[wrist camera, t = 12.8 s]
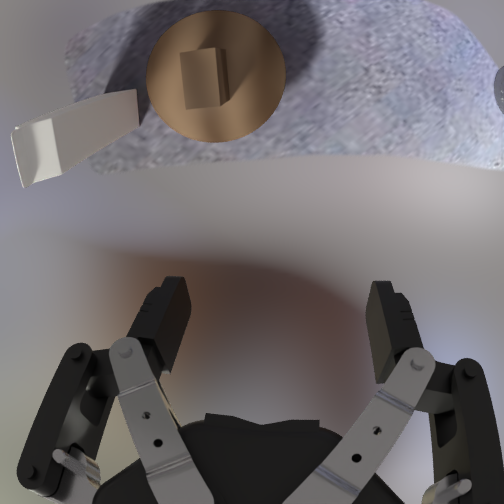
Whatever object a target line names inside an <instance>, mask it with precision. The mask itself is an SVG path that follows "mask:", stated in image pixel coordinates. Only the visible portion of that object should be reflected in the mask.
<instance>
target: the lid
mask: <svg viewBox="0 0 504 504" xmlns="http://www.w3.org/2000/svg"><path fill="white" fill-rule="evenodd" d="M285 81H286V68H285V62H284V58H283V54H282V52H281V50H280V47H279V45H278V44H277V42H276V41H275V39H274V38H273V36H272V35H271V34H270V33H269V32H268V31H267V30H266V29H265V28H264V27H263V26H262V25H261V24H259V23H258V22H256V21H255V20H253V19H251V18H249V17H247V16H245V15H242V14H239V13H236V12H231V11H224V10H212V11H204V12H199V13H196V14H193V15H190V16H188V17H186V18H184V19H182V20H180V21H178V22H177V23H175V24H174V25H172V26H171V27H170V28H169V29H168V30H167V31H166V32H165V33H164V34H163V35H162V36H161V37H160V39H159V40H158V41H157V43H156V44H155V46H154V48H153V50H152V52H151V55H150V57H149V60H148V65H147V70H146V86H147V91H148V95H149V98H150V101H151V103H152V105H153V107H154V109H155V111H156V112H157V114H158V115H159V117H160V118H161V119H162V120H163V121H164V122H165V123H166V124H167V125H168V126H169V127H170V128H172V129H173V130H175V131H176V132H178V133H179V134H181V135H183V136H185V137H188V138H191V139H193V140H197V141H202V142H227V141H231V140H235V139H238V138H241V137H244V136H246V135H248V134H250V133H252V132H253V131H255V130H256V129H258V128H259V127H260V126H261V125H263V124H264V123H265V122H266V121H267V120H268V119H269V117H270V116H271V115H272V114H273V112H274V111H275V109H276V108H277V106H278V104H279V102H280V100H281V98H282V95H283V91H284V87H285Z"/></svg>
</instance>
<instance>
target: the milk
mask: <svg viewBox="0 0 504 504" xmlns="http://www.w3.org/2000/svg"><path fill="white" fill-rule="evenodd" d="M138 127H140V125H139V115H138V103H137V90H136V89H131V90H124V91H118V92H111V93H105V94H101V95H98V96H95V97H91V98H88V99H85V100H82V101H79V102H76V103H73V104H71V105H68V106H65V107H62V108H60V109H57V110H54V111H52V112H49V113H47V114H44V115H42V116H39V117H37V118H34V119H32V120H30V121H28V122H25V123H23V124H21V125H18V126H16V127H15V130H14V131H12V133H11V139H12V144H13V149H14V154H15V158H16V163H17V167H18V171H19V175H20V179H21V183H22V186H23V188H27V187H28V186H30V185H31V184H32V183H35V182H38V181H41V180H45V179H48V178H51V177H55V176H59V175H62V174H63V173H65V172H66V171H68V170H69V169H70V168H72V167H74V166H75V165H77V164H78V163H80V162H81V161H83V160H84V159H86V158H87V157H89V156H90V155H92V154H94V153H95V152H97V151H98V150H100V149H102V148H103V147H105V146H107V145H108V144H110V143H112V142H113V141H115V140H117V139H119V138H120V137H122V136H124V135H126V134H127V133H129V132H131V131H133V130H135V129H136V128H138Z"/></svg>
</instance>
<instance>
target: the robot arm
mask: <svg viewBox="0 0 504 504" xmlns="http://www.w3.org/2000/svg"><path fill="white" fill-rule="evenodd" d="M494 92H495V98H496V101H497V104H498V106H499V108H500V110H501V111H502V113H503V114H504V66H503V67H502V68H501V69H500V70H499V71H498V73H497V75H496V78H495V83H494ZM190 315H191V300H190V296H189V293H188V289H187V285H186V281H185V278H184V277H179V276H177V277H176V276H167V277H166V278H165V279H164V281H163V283H162V285H161V287H155V288H154V289H153V290H152V291H151V292H150V293H149V294H148V295H147V296H146V298H145V300H144V302H143V305H142V306H141V308H140V312H138V314H137V316H136V318H135V320H134V322H133V324H132V326H131V328H130V330H129V332H128V334H127V336H126V337H124V338H121V339H119V340H117V341H116V342H114V343H113V345H112V346H111V347H110V349H103V350H96V351H92V349H91V348H90V346H89V345H88V344H86V343H77V344H74V345H72V346H71V347H69V348H68V349H67V351H66V352H65V354H64V356H63V358H62V360H61V362H60V364H59V366H58V369H57V370H56V373H55V375H54V377H53V379H52V381H51V383H50V385H49V388H48V390H47V392H46V394H45V396H44V399H43V401H42V404H41V406H40V408H39V410H38V413H37V415H36V418H35V420H34V423H33V425H32V428H31V430H30V433H29V435H28V438H27V440H26V443H25V446H24V449H23V452H22V454H21V457H20V460H19V463H18V466H17V477H18V480H19V482H20V483H21V485H22V486H23V487H25V488H27V489H28V490H31V491H33V492H35V493H36V494H38V495H39V496H41V497H43V498H45V499H48V500H50V501H52V502H55V503H57V504H404V503H403V501H402V500H401V499H400V498H399V497H398V496H397V495H396V494H395V493H394V492H393V491H392V490H391V489H390V488H389V487H388V486H387V485H386V484H385V482H384V481H383V480H382V479H381V478H380V477H379V476H378V475H377V474H376V473H375V472H376V470H377V469H378V467H379V466H380V465H381V463H382V462H383V460H384V459H385V457H386V456H387V455H388V453H389V452H390V450H391V449H392V447H393V445H394V444H395V442H396V441H397V439H398V438H399V436H400V434H401V433H402V431H403V430H404V428H405V426H406V424H407V423H408V421H409V420H410V418H411V416H412V414H413V412H414V410H417V411H422V412H427V413H429V421H430V431H431V441H432V453H433V468H434V484H433V485H431V486H430V487H429V488H428V489H427V490H426V491H425V493H424V495H423V498H422V504H504V467H503V460H502V452H501V446H500V440H499V434H498V429H497V424H496V419H495V414H494V410H493V406H492V401H491V397H490V393H489V389H488V385H487V382H486V378H485V375H484V371H483V369H482V367H481V365H480V364H479V363H478V362H476V361H475V360H473V359H470V358H464V359H461V360H459V361H458V362H457V363H456V365H450V364H445V363H441V362H437V361H435V360H434V357H433V356H432V355H431V354H430V353H429V352H428V351H427V350H425V349H424V348H423V344H422V341H421V338H420V334H419V332H418V328H417V325H416V322H415V320H414V316H413V313H412V309H411V306H410V304H409V301H408V300H407V299H406V298H405V297H404V295H403V294H402V293H395V292H394V290H393V286H392V283H391V281H373V282H372V285H371V290H370V294H369V298H368V302H367V306H366V323H367V329H368V335H369V340H370V346H371V352H372V358H373V365H374V372H375V379H376V383H377V384H380V383H384V385H383V387H382V388H381V390H380V391H378V392H377V393H376V395H375V396H374V397H373V399H372V400H371V402H370V403H369V405H368V406H367V407H366V409H365V410H364V411H363V413H362V414H361V415H360V417H359V418H358V419H357V421H356V422H355V423H354V425H353V426H352V427H351V429H350V430H349V431H348V432H347V434H346V435H345V436H344V437H342V436H340V435H339V434H337V433H335V432H333V431H331V430H328V429H326V428H322V427H319V420H288V421H282V422H277V423H272V424H265V425H259V424H256V423H253V422H249V421H246V420H243V419H240V418H237V417H234V416H227V415H218V414H210V413H206V415H205V419H204V420H200V421H196V422H192V423H189V424H187V425H185V426H182V425H181V423H180V421H179V420H178V418H177V416H176V414H175V412H174V410H173V408H172V406H171V404H170V402H169V400H168V398H167V396H166V394H165V391H164V389H163V387H162V385H161V383H160V380H159V379H160V376H161V373H166V374H170V373H171V370H172V367H173V364H174V361H175V359H176V356H177V353H178V350H179V347H180V344H181V341H182V338H183V335H184V332H185V329H186V327H187V324H188V321H189V318H190ZM115 396H118V399H119V402H120V405H121V408H122V411H123V414H124V417H125V420H126V422H127V425H128V428H129V431H130V434H131V436H132V439H133V442H134V444H135V447H136V449H137V452H138V454H139V456H140V458H139V459H138V460H136V461H135V462H134V463H132V464H131V465H130V466H128V467H126V468H125V469H124V470H122V471H121V472H120V473H118V474H116V475H115V476H113V477H112V478H111V479H109V480H108V481H106V482H105V483H103V484H102V485H100V480H101V477H100V469H99V466H98V464H97V463H96V462H95V459H96V456H97V452H98V449H99V445H100V442H101V439H102V436H103V432H104V429H105V426H106V423H107V420H108V417H109V414H110V411H111V408H112V405H113V402H114V399H115Z"/></svg>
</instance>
